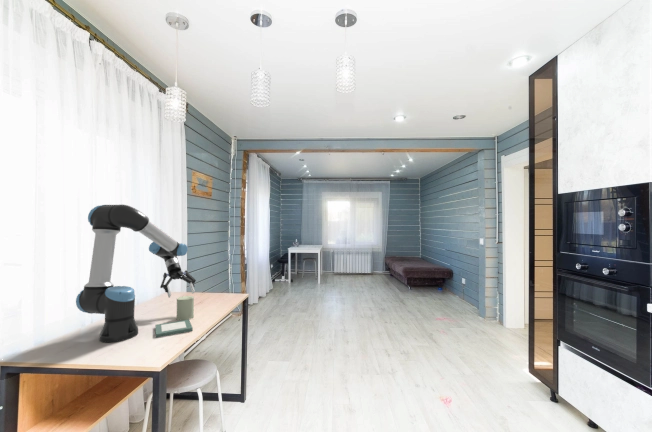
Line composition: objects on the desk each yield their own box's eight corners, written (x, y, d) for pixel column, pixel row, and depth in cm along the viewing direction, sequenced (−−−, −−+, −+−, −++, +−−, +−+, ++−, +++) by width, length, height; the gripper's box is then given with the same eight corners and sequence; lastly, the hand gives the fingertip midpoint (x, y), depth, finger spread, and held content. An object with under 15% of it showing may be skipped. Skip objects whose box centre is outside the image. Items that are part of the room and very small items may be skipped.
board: (155, 337, 137) (155, 334, 137) (155, 327, 151) (155, 324, 151) (192, 331, 145) (192, 327, 145) (189, 322, 159) (189, 319, 159)
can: (189, 320, 162) (189, 298, 163) (172, 320, 162) (173, 298, 163) (196, 315, 171) (196, 295, 172) (181, 315, 172) (181, 295, 172)
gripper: (191, 268, 195) (200, 294, 184) (150, 272, 177) (157, 301, 166) (194, 261, 191) (204, 287, 181) (152, 265, 173) (160, 294, 163)
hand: (182, 294), depth 173 cm, fingers open, 13 cm apart
